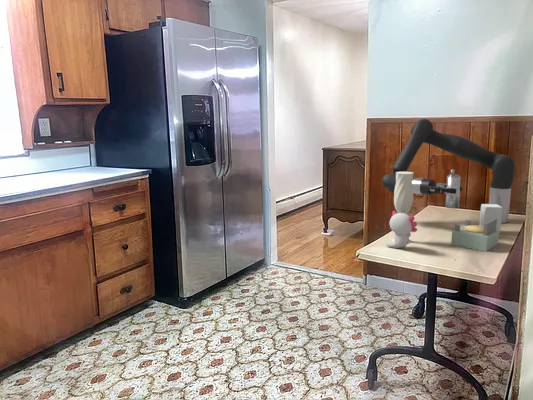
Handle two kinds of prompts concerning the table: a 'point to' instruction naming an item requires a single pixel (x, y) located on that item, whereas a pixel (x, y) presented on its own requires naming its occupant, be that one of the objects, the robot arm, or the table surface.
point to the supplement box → (491, 214)
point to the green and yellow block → (476, 235)
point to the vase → (403, 192)
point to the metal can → (454, 182)
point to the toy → (401, 229)
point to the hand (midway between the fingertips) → (458, 190)
